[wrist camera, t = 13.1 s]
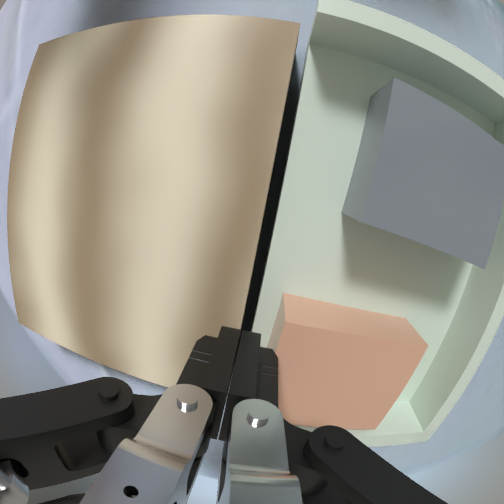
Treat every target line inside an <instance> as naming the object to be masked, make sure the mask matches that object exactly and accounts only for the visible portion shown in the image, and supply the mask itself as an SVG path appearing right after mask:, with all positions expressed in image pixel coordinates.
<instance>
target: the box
mask: <svg viewBox="0 0 504 504" xmlns="http://www.w3.org/2000/svg"><path fill="white" fill-rule="evenodd" d="M393 77H394V78H396V79H398V80H401V81H403V82H405V83H407V84H409V85H411V86H413V87H415V88H417V89H419V90H421V91H422V92H424V93H426V94H428V95H430V96H432V97H433V98H435V99H437V100H439V101H440V102H442V103H444V104H445V105H447V106H449V107H450V108H452V109H454V110H455V111H457V112H458V113H460V114H461V115H463V116H464V117H466V118H467V119H469V120H470V121H472V122H473V123H475V124H476V125H477V126H479V127H480V128H482V129H483V130H484V131H486V132H487V133H488V134H490V135H491V136H492V137H494V138H495V139H496V140H497V141H499V142H500V143H501V144H502V145H504V80H503V79H502V78H501V77H500V76H498V75H497V74H496V73H494V72H493V71H492V70H490V69H489V68H488V67H486V66H485V65H483V64H482V63H480V62H479V61H478V60H476V59H475V58H473V57H472V56H470V55H468V54H467V53H465V52H464V51H462V50H460V49H459V48H457V47H455V46H454V45H452V44H450V43H449V42H447V41H445V40H443V39H441V38H440V37H438V36H436V35H434V34H432V33H430V32H428V31H426V30H424V29H422V28H420V27H418V26H416V25H413V24H411V23H409V22H407V21H404V20H402V19H400V18H397V17H395V16H392V15H390V14H387V13H385V12H382V11H379V10H376V9H374V8H371V7H368V6H365V5H362V4H358V3H355V2H352V1H348V0H318V4H317V8H316V12H315V17H314V21H313V25H312V29H311V33H310V37H309V42H308V46H307V51H306V56H305V62H304V68H303V73H302V79H301V84H300V90H299V95H298V101H297V106H296V112H295V117H294V122H293V128H292V133H291V138H290V143H289V149H288V154H287V159H286V164H285V169H284V174H283V179H282V184H281V189H280V194H279V199H278V204H277V209H276V214H275V219H274V224H273V229H272V234H271V238H270V243H269V248H268V253H267V258H266V262H265V267H264V272H263V277H262V281H261V286H260V291H259V295H258V300H257V304H256V309H255V314H254V318H253V323H252V327H251V332H255V333H260V334H261V343H260V347H265V348H267V345H268V342H269V338H270V335H271V332H272V329H273V326H274V322H275V319H276V316H277V312H278V309H279V306H280V302H281V299H282V295H283V293H288V294H292V295H296V296H301V297H305V298H310V299H314V300H319V301H324V302H328V303H333V304H338V305H343V306H347V307H352V308H357V309H362V310H367V311H372V312H377V313H382V314H387V315H392V316H398V317H403V318H406V319H407V320H408V321H409V323H410V324H411V325H412V326H413V327H414V329H415V330H416V331H417V332H418V333H419V335H420V336H421V337H422V338H423V340H424V341H425V342H426V343H427V344H428V348H427V349H426V351H425V353H424V355H423V357H422V359H421V361H420V362H419V364H418V366H417V368H416V369H415V371H414V373H413V374H412V376H411V378H410V379H409V381H408V383H407V384H406V386H405V388H404V389H403V391H402V392H401V394H400V395H399V397H398V398H397V400H396V401H395V403H394V404H393V406H392V407H391V409H390V410H389V412H388V413H387V414H386V416H385V417H384V419H383V420H382V421H381V423H380V424H379V425H378V427H377V428H376V429H375V430H364V429H345V430H347V431H348V432H350V433H351V434H352V435H354V436H355V437H356V438H357V439H358V440H360V441H361V442H362V443H363V444H365V445H366V446H367V447H377V446H390V445H401V444H409V443H417V442H424V441H427V440H428V439H429V438H430V437H431V436H432V434H433V433H434V432H435V431H436V429H437V428H438V427H439V426H440V424H441V423H442V422H443V420H444V419H445V418H446V416H447V415H448V414H449V412H450V411H451V409H452V408H453V407H454V405H455V404H456V402H457V401H458V399H459V398H460V396H461V395H462V393H463V392H464V390H465V389H466V387H467V385H468V384H469V382H470V381H471V379H472V377H473V375H474V374H475V372H476V370H477V369H478V367H479V365H480V363H481V361H482V360H483V358H484V356H485V354H486V352H487V350H488V348H489V346H490V344H491V342H492V340H493V338H494V336H495V334H496V331H497V329H498V327H499V325H500V323H501V320H502V318H503V315H504V202H503V207H502V212H501V216H500V220H499V224H498V228H497V232H496V235H495V239H494V242H493V246H492V249H491V252H490V255H489V258H488V261H487V264H486V267H485V269H482V268H480V267H478V266H475V265H473V264H471V263H468V262H466V261H464V260H461V259H459V258H456V257H454V256H451V255H449V254H446V253H444V252H441V251H439V250H436V249H434V248H431V247H429V246H426V245H423V244H421V243H418V242H416V241H413V240H410V239H407V238H405V237H402V236H399V235H396V234H394V233H391V232H388V231H385V230H382V229H379V228H377V227H374V226H371V225H368V224H365V223H362V222H359V221H357V220H355V219H353V218H351V217H349V216H347V215H345V214H343V213H341V212H342V208H343V205H344V202H345V198H346V195H347V191H348V188H349V184H350V180H351V177H352V173H353V169H354V165H355V161H356V157H357V153H358V149H359V145H360V141H361V137H362V133H363V128H364V124H365V119H366V115H367V110H368V105H369V100H370V96H372V95H373V94H374V93H375V92H376V91H378V90H379V89H380V88H381V87H382V86H384V85H385V84H386V83H387V82H389V81H390V80H391V79H392V78H393ZM292 425H293V424H292ZM294 426H296V427H299V428H302V429H304V430H307V431H310V432H313V431H314V430H315V429H316V428H318V427H311V426H301V425H294Z"/></svg>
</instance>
